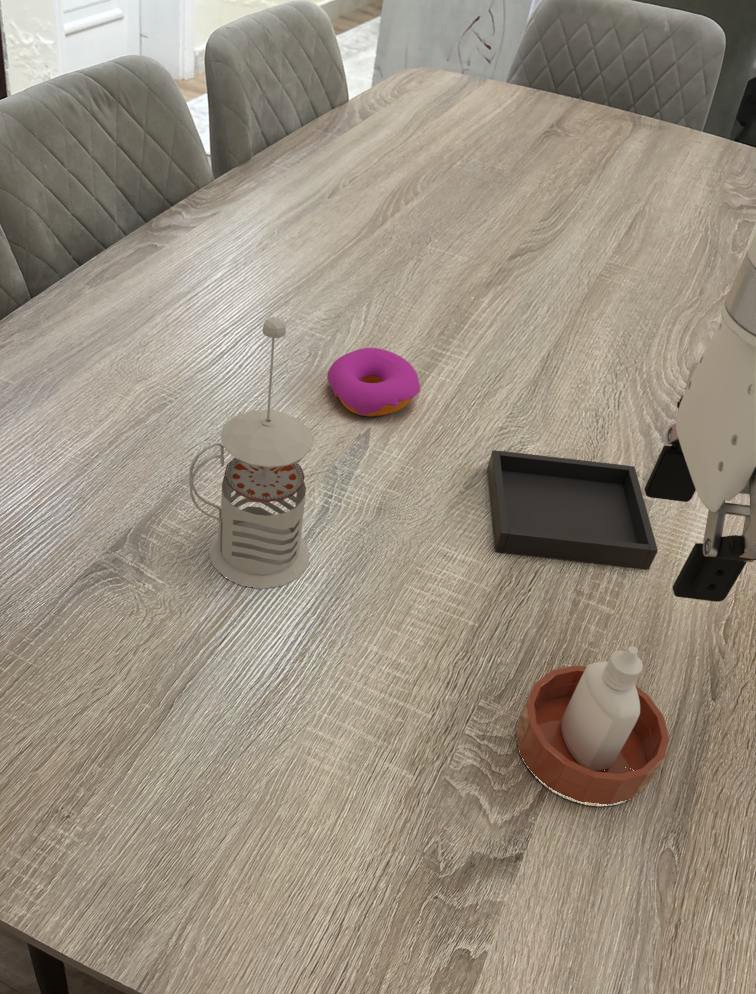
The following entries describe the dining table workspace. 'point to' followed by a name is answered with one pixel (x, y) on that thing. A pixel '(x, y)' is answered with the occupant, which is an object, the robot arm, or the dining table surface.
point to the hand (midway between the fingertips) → (680, 543)
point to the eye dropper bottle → (603, 710)
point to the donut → (373, 381)
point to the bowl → (559, 767)
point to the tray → (569, 510)
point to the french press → (261, 493)
